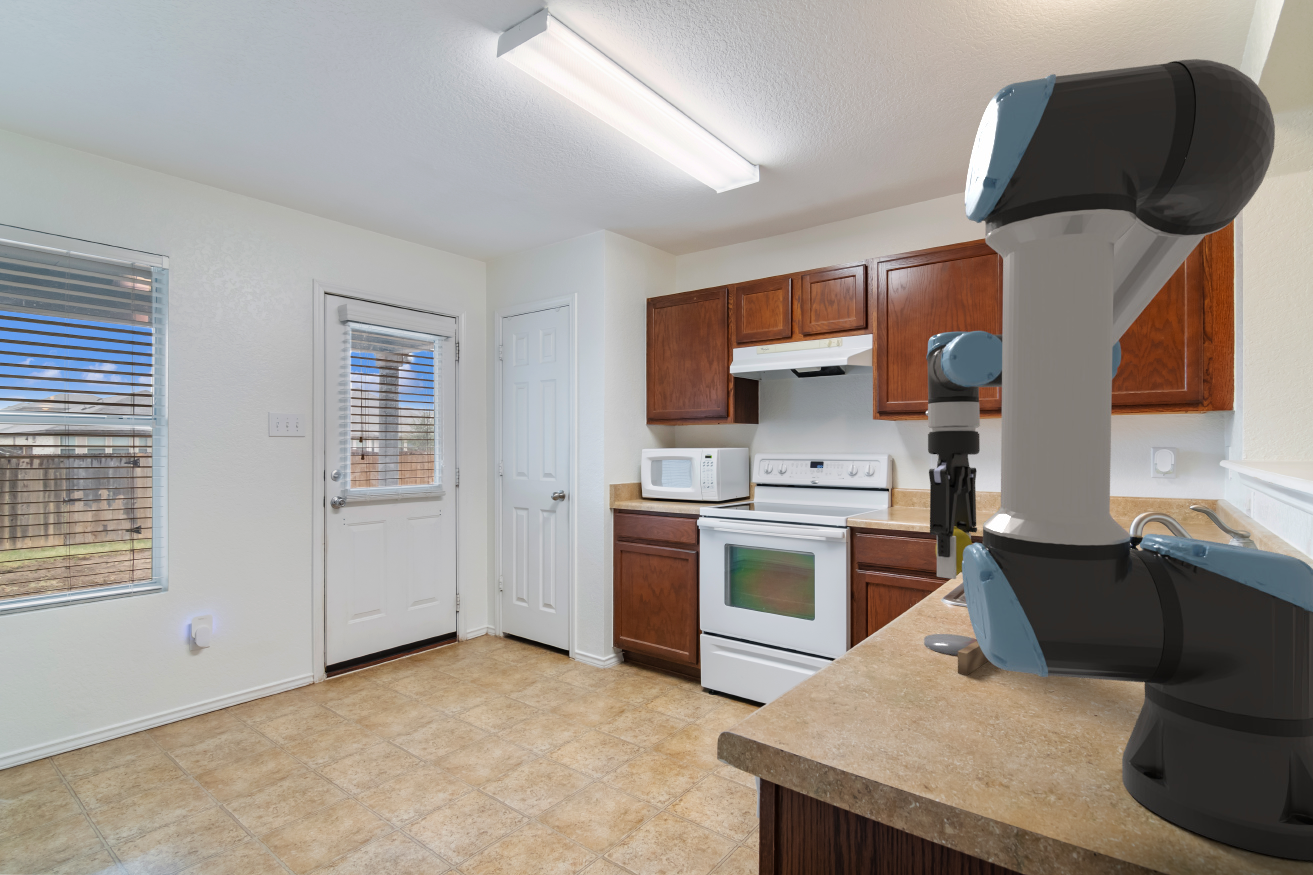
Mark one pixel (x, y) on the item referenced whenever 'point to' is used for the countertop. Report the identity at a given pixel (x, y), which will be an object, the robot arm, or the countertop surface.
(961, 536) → the lemon
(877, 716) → the countertop surface
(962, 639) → the coaster
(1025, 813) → the countertop surface
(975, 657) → the divider
